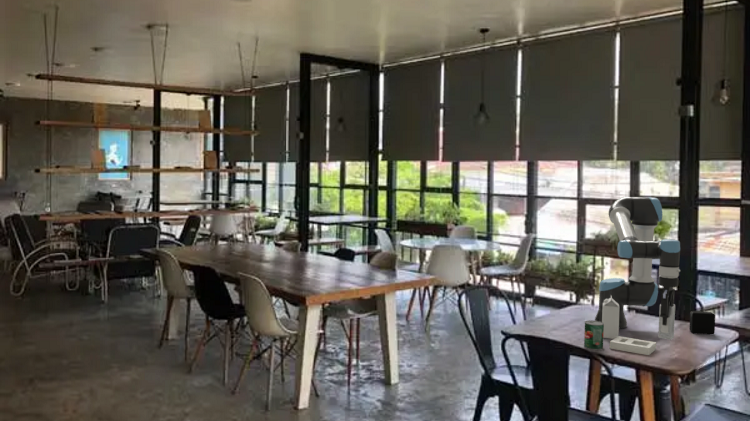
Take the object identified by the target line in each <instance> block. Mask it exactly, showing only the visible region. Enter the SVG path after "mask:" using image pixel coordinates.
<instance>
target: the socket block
mask: <svg viewBox="0 0 750 421" xmlns="http://www.w3.org/2000/svg"><path fill="white" fill-rule="evenodd" d="M609 349H610V350H611V349H612V350H617V351H621V352H622V351H623V352H629V353H633V354H638V355H639V354H640V355H645V356H650V355H651V354H653V352H655V351H656V350H657V341H649V340H643V339H640V338H639V339H638V338H631V337H628V336H627V337H626V336H619V335H618V337H616V338H615V339H612V340H610V341H609Z"/></svg>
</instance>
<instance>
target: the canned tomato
mask: <svg viewBox="0 0 750 421" xmlns="http://www.w3.org/2000/svg"><path fill="white" fill-rule="evenodd" d="M603 334H604V323H603V322H600V321H595V320H591V319H590V320H585V321H584V336H583V337H584V338H583V340H584V342H583V343H584V345H583V347H584V348H585V349H588V350H592V351H601V350H603V349H604V338H603Z"/></svg>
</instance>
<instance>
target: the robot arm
mask: <svg viewBox="0 0 750 421" xmlns="http://www.w3.org/2000/svg"><path fill="white" fill-rule="evenodd" d="M608 217H609V220H610V222H611V223H612V224H613V225H614V228H615V231H616V234H617V237H618V240H619V241H618V243H617V250H616V251H617V255H618V257H619V258H624V259H632V260H633V261H632V275H631V276H629V278H628V281H626V280H625V279H624V278H622V277H620V278H619V277H618V278H617V277H613V278H605V279H602V280H601V281H600V282H599V288H598V291H599V294H598V309H597V313H596V314H595V315H596V316H595V318H594V321H600V322H602V310H603V303H604V300H605V299H609V298H611V296H612V299H613V300H615V301H616V302H617V303H618V304H619V329H624V328H627V326H628V321H627V318H626V316H625V315H626V314H625V312H624V310H625V307H624V306H635V307H652V306H654V305H655V304H656V302H657V300H658V294H659V286H661V287H663V289H662V290H661V294H660V304H661V314H660V317H662V321H661V332H663V333H668V330H669V316H668V315H669V305H670V304H674V305H675V292H676V290H675V289H674V288H678V286H679V276H680V272H681V269H680V257H681V256H680V255H681V242H680V240H677V239H671V238H669V239H665V238H664V239H662V240H657V241H654V232H655V228H656V227H658V226H659V225H658V223H659V222H661V221H663V220H662V219H663V206H662V203H661V201H660V199H659V198H657V197H650V196H623V197H620V198H618V199H616V200H615V201H614V202H613V203H611V205H610V207H609V209H608ZM653 260H659V266H658V267H659V268H658V275H659V276H658V284H657V283H656V282H655V279H654V278H653V277H652V270H653V269H652V268H653V267H652V266H653Z"/></svg>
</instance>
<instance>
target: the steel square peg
mask: <svg viewBox="0 0 750 421" xmlns="http://www.w3.org/2000/svg"><path fill="white" fill-rule="evenodd" d="M658 309H659V311H658V314H659V316H658V335H657V336H658V337H657V338H658V339H662V340H664V339H665V340H670V341H671V340H673V339H674V337H675V322H676V321H675V320H676V319H675V317H676V315H675V314H676V304H675V303H674V304H670V305H669V315H668V316H669V330H668V333H663V332H661V321H662V317H660V314H661V303H660V304H659V308H658Z"/></svg>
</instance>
